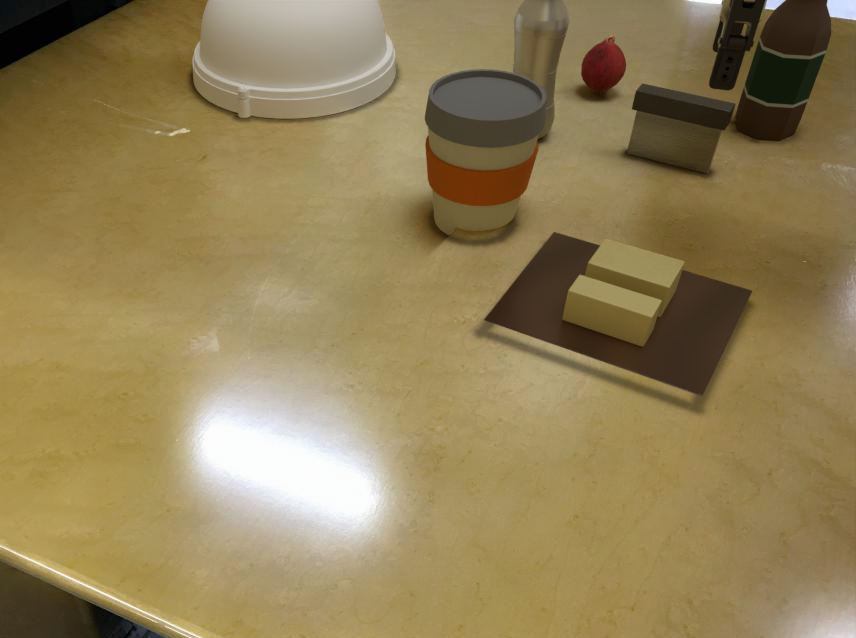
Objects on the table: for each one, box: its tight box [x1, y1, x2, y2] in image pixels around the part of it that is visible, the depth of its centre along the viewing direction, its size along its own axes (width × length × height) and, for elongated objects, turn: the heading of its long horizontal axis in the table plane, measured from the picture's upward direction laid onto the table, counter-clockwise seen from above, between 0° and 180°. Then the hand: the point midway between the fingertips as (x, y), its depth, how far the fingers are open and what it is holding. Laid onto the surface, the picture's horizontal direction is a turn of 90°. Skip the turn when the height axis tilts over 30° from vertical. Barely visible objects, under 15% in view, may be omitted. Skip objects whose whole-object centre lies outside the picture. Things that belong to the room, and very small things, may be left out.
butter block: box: [585, 238, 686, 317], centre depth 89 cm, size 8×5×4 cm, turn 57°
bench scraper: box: [626, 82, 737, 174], centre depth 108 cm, size 11×2×8 cm, turn 57°
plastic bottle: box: [512, 0, 570, 140], centre depth 110 cm, size 6×7×20 cm
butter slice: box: [562, 275, 662, 347], centre depth 85 cm, size 8×3×4 cm, turn 57°
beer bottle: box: [734, 0, 832, 141], centre depth 109 cm, size 8×8×24 cm
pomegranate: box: [580, 34, 627, 95], centre depth 122 cm, size 6×6×8 cm
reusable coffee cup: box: [424, 68, 546, 236], centre depth 98 cm, size 13×13×15 cm
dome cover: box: [191, 0, 397, 120], centre depth 128 cm, size 32×30×14 cm
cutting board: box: [483, 231, 753, 397], centre depth 89 cm, size 21×18×2 cm
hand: (721, 69), depth 85 cm, fingers open, 8 cm apart
